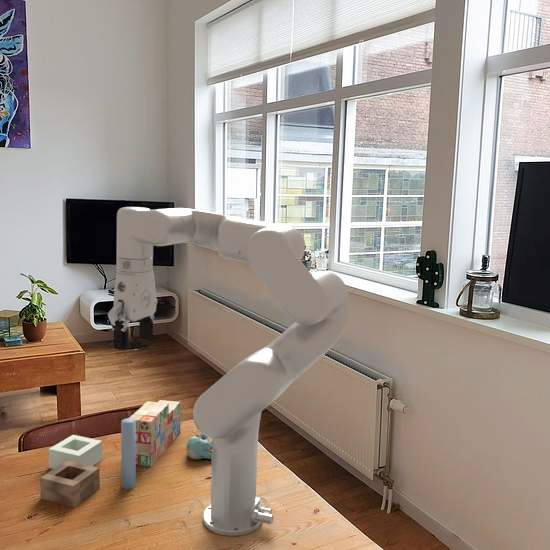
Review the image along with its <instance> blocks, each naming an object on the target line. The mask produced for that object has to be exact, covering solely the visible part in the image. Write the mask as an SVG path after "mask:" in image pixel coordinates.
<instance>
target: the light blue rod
mask: <svg viewBox="0 0 550 550" xmlns="http://www.w3.org/2000/svg"><path fill="white" fill-rule="evenodd" d="M120 431H121V437H120V438H121V439H120V440H121V443H120V445H121V447H120V448H121V451H120V453H121V462H120V463H121V488H122V489H124V490H132V489H135V488H136V486H137V483H136V482H137V479H136V478H137V474H136V473H137V472H136V471H137V469H136V468H137V467H136V466H137V465H136V420H135V419H132V418H129V417H128V418H124V419H122V420H121V421H120Z"/></svg>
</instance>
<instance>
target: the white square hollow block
mask: <svg viewBox="0 0 550 550" xmlns="http://www.w3.org/2000/svg"><path fill="white" fill-rule="evenodd" d="M103 457H104V456H103V440H101V439H100V440H99V439H96V438H95V439H94V438H90V437H87V436H82V435H81V436H80V435H77V434H72V435H70V436H68V437H67V438H65V439H63V440H60V442H59V443H56V444H55V445H53V446H52V447H50V448H48V468H49V469H51V470H53V469H55V468H56V467H58V466H59V465H61V464H62V463H64V462H66V461H67V460H68V461H72V462H76V463H81V464H85V465H89V466H94V467H95V465H97V464H99V463H100V462H101V461H103Z"/></svg>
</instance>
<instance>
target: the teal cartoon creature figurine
mask: <svg viewBox="0 0 550 550" xmlns="http://www.w3.org/2000/svg"><path fill="white" fill-rule="evenodd" d="M212 439H213V438H209V437H207V436H205V435H203V434H202V433H201V432H200V434H198V435H197V434H196V435H194V436H193V435H192V436H191V437H189V439H188V441H187V443H186V453H187V455H188V457H189V458H190V459H192V460H199V461H200V460H203V459H209V460H211V461H212V452H210V451H212Z"/></svg>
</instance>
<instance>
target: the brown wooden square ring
mask: <svg viewBox="0 0 550 550" xmlns="http://www.w3.org/2000/svg"><path fill="white" fill-rule="evenodd" d="M100 479H101V478H100V467H98V466H95V465H94V466H89V465H85V464H81V463H76V462H72V461H68V460H67V461H66V462H64V463H62V464H61V465H59V466H58V467H56V468H55V469H51V470H50V471H48V472H47V473H45V474H44V475H42V476H40V477H39V485H40V486H39V487H40V499H41V500H44V501H48V502H52V503H56V504H60V505H63V506H67V507H70V508H75V507H77V506H78V505H79V504H81V503H82V502H83V501H84V500H86V499H87V498H89V497H90V496H91V495H93V494H94V493H95V492H97V491H98V490H99V489H100V488H101V487H100V486H101V485H100V484H101V483H100V481H101V480H100Z"/></svg>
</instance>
